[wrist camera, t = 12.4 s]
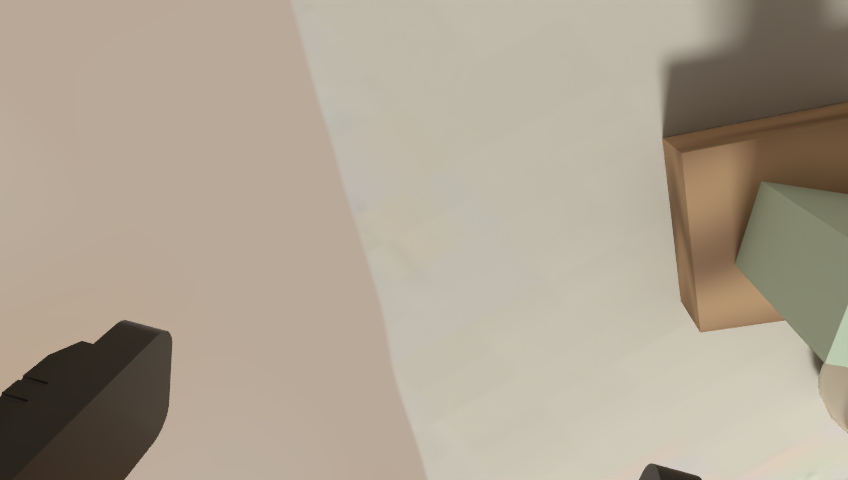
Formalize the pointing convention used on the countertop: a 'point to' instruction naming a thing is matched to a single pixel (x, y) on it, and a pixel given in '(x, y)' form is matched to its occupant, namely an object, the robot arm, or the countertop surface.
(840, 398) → the plastic bottle
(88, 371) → the robot arm
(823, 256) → the block
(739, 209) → the base
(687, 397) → the countertop surface
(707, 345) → the countertop surface
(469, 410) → the countertop surface
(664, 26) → the countertop surface
